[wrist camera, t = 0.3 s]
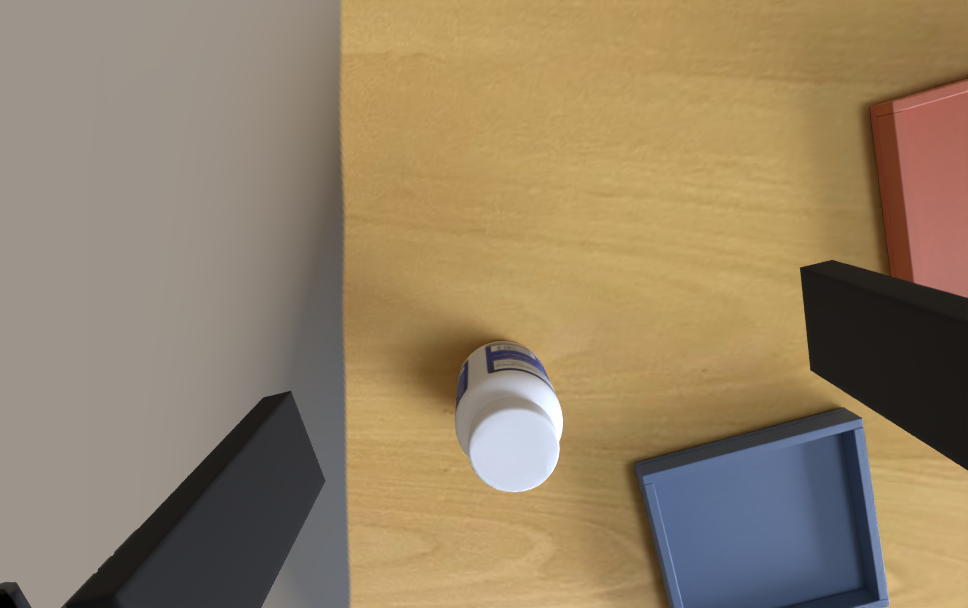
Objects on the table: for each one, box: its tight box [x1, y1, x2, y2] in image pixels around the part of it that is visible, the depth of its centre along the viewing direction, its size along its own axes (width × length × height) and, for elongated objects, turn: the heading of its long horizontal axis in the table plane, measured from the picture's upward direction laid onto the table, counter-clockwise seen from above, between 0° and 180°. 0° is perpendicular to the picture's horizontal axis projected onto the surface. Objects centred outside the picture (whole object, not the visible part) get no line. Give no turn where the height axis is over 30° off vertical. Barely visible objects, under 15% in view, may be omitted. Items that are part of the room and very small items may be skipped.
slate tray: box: [634, 408, 889, 608], centre depth 33 cm, size 13×13×2 cm
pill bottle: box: [455, 341, 563, 492], centre depth 27 cm, size 5×5×9 cm
